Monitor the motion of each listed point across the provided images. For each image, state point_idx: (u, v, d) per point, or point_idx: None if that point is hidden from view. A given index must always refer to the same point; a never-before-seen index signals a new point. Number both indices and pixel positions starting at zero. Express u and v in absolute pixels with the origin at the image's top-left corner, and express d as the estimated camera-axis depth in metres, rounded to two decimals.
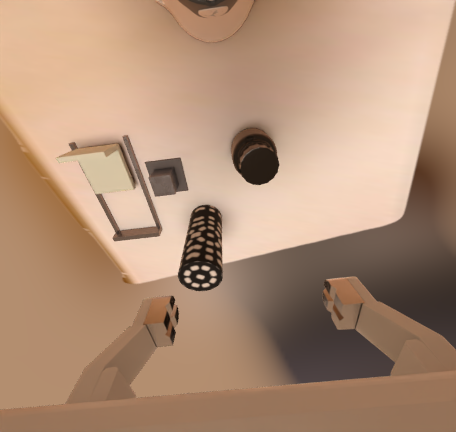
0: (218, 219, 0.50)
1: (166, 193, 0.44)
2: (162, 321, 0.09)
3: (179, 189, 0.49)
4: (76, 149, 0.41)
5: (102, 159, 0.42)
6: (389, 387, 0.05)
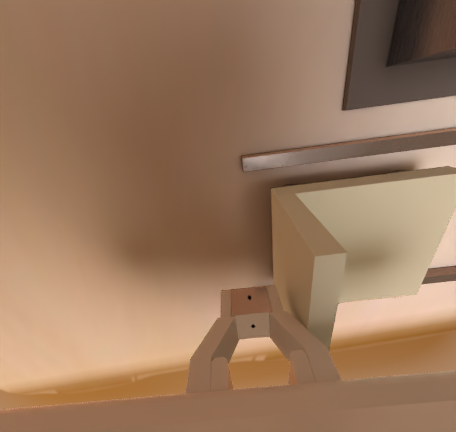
0: None
1: None
2: (251, 312, 0.09)
3: None
4: None
5: None
6: (389, 387, 0.05)
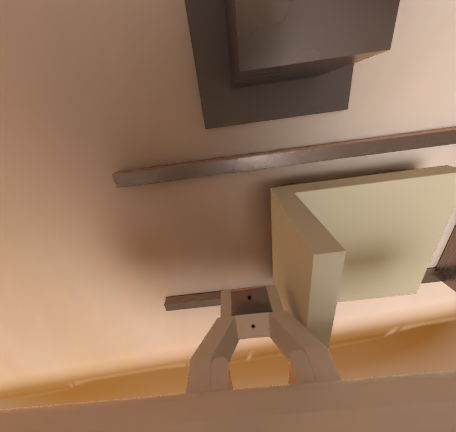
0: None
1: None
2: (251, 312, 0.09)
3: None
4: None
5: None
6: (389, 387, 0.05)
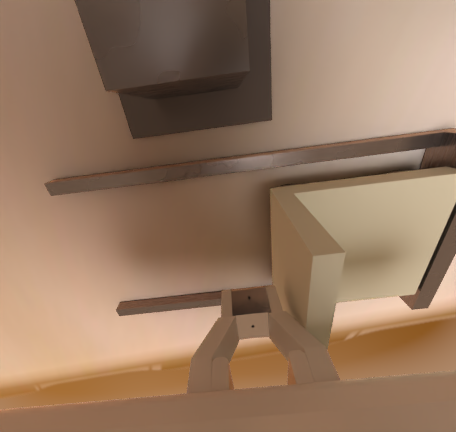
0: None
1: None
2: (252, 312, 0.09)
3: None
4: None
5: None
6: (389, 387, 0.05)
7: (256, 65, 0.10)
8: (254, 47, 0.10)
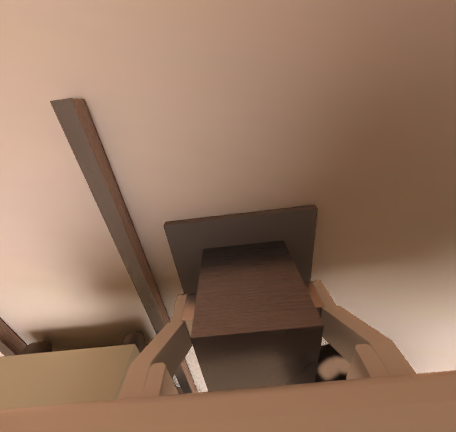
0: None
1: None
2: None
3: None
4: None
5: None
6: (389, 387, 0.05)
7: None
8: None
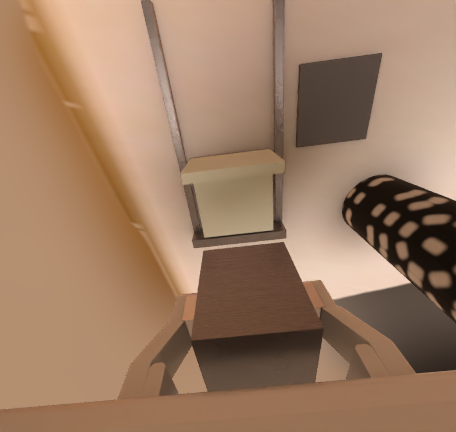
0: None
1: None
2: None
3: (349, 136, 0.23)
4: (194, 159, 0.22)
5: None
6: (389, 387, 0.05)
7: (319, 138, 0.23)
8: (326, 136, 0.23)
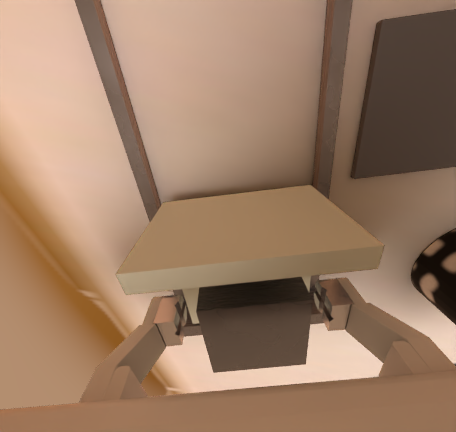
0: None
1: (267, 362, 0.10)
2: (172, 320, 0.09)
3: (450, 159, 0.13)
4: (168, 205, 0.12)
5: None
6: (389, 387, 0.05)
7: (397, 163, 0.13)
8: (408, 160, 0.13)
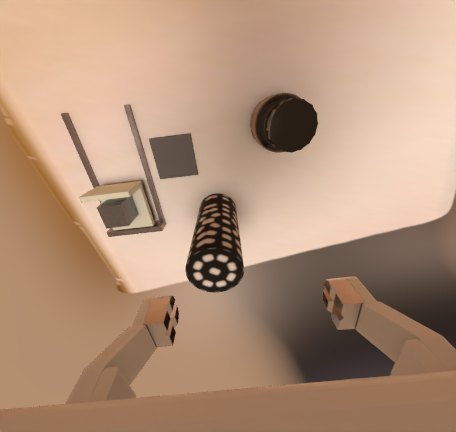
0: (233, 208, 0.42)
1: (119, 224, 0.38)
2: (162, 321, 0.09)
3: (188, 173, 0.42)
4: (98, 186, 0.41)
5: None
6: (389, 387, 0.05)
7: (171, 174, 0.42)
8: (174, 173, 0.42)
